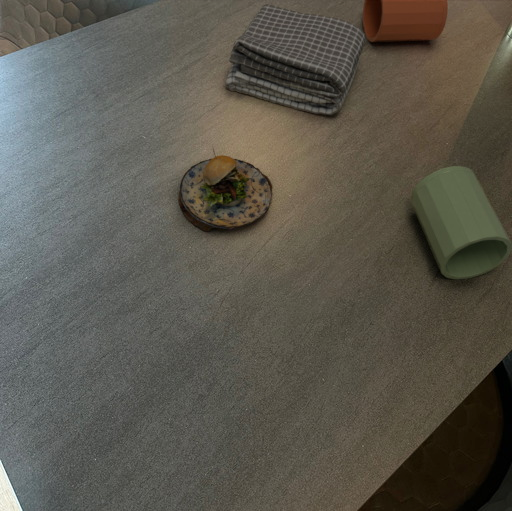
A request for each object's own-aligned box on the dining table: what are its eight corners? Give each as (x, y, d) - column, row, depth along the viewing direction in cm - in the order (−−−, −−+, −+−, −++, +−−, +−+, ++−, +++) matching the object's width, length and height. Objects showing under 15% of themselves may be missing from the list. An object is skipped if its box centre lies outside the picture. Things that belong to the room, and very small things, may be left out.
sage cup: (486, 163, 77) (524, 234, 71) (461, 208, 84) (493, 276, 77) (423, 167, 75) (456, 239, 69) (402, 212, 82) (431, 282, 76)
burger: (205, 249, 75) (208, 208, 69) (162, 182, 80) (161, 139, 74) (289, 216, 79) (299, 175, 74) (243, 155, 85) (248, 112, 79)
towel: (338, 124, 91) (350, 79, 85) (219, 88, 93) (223, 42, 86) (360, 65, 100) (372, 21, 94) (251, 33, 102) (256, -12, 95)
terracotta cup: (434, -26, 103) (371, -25, 100) (453, 4, 98) (387, 5, 96) (418, 20, 109) (358, 21, 107) (435, 50, 105) (373, 52, 102)
